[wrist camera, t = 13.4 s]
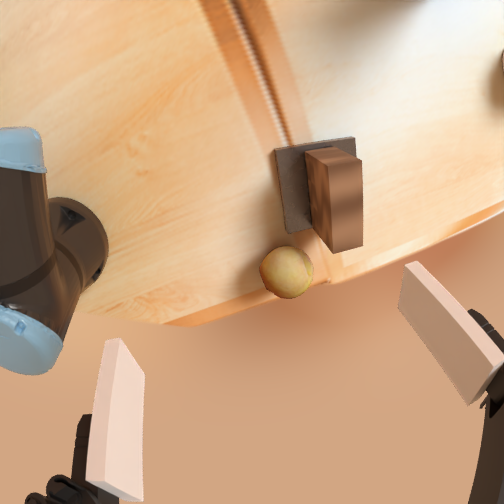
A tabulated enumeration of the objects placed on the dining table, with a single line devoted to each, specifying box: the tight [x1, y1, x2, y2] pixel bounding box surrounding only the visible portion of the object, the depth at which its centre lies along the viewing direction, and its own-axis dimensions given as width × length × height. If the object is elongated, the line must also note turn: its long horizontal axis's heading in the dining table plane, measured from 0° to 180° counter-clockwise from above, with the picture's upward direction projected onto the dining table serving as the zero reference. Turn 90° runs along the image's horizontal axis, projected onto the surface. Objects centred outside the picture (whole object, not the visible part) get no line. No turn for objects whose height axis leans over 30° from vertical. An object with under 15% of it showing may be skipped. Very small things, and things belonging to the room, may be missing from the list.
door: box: [305, 147, 363, 254], centre depth 40 cm, size 12×4×8 cm, turn 10°
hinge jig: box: [274, 137, 356, 234], centre depth 43 cm, size 12×13×4 cm
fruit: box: [260, 246, 314, 299], centre depth 47 cm, size 8×8×8 cm
